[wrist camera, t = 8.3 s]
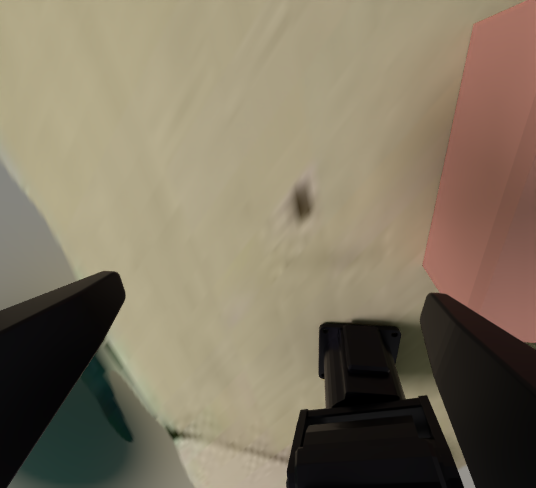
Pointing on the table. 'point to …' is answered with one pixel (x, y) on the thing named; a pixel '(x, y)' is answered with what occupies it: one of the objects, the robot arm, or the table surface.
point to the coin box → (492, 179)
